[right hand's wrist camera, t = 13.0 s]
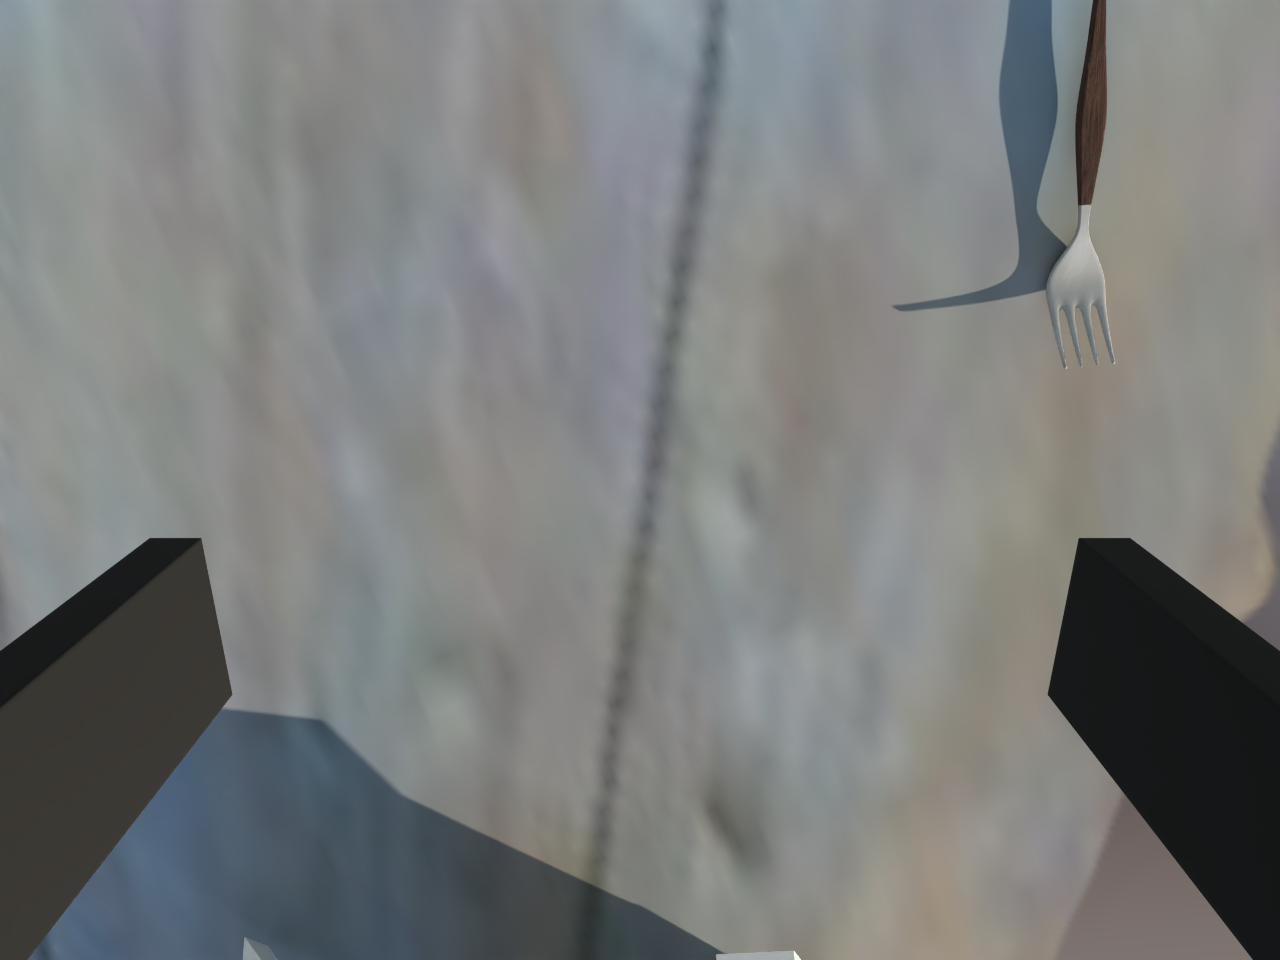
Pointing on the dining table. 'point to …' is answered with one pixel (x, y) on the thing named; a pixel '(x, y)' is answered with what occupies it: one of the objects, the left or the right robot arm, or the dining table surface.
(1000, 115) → the dining table surface
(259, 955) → the white plastic object
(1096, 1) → the fork
